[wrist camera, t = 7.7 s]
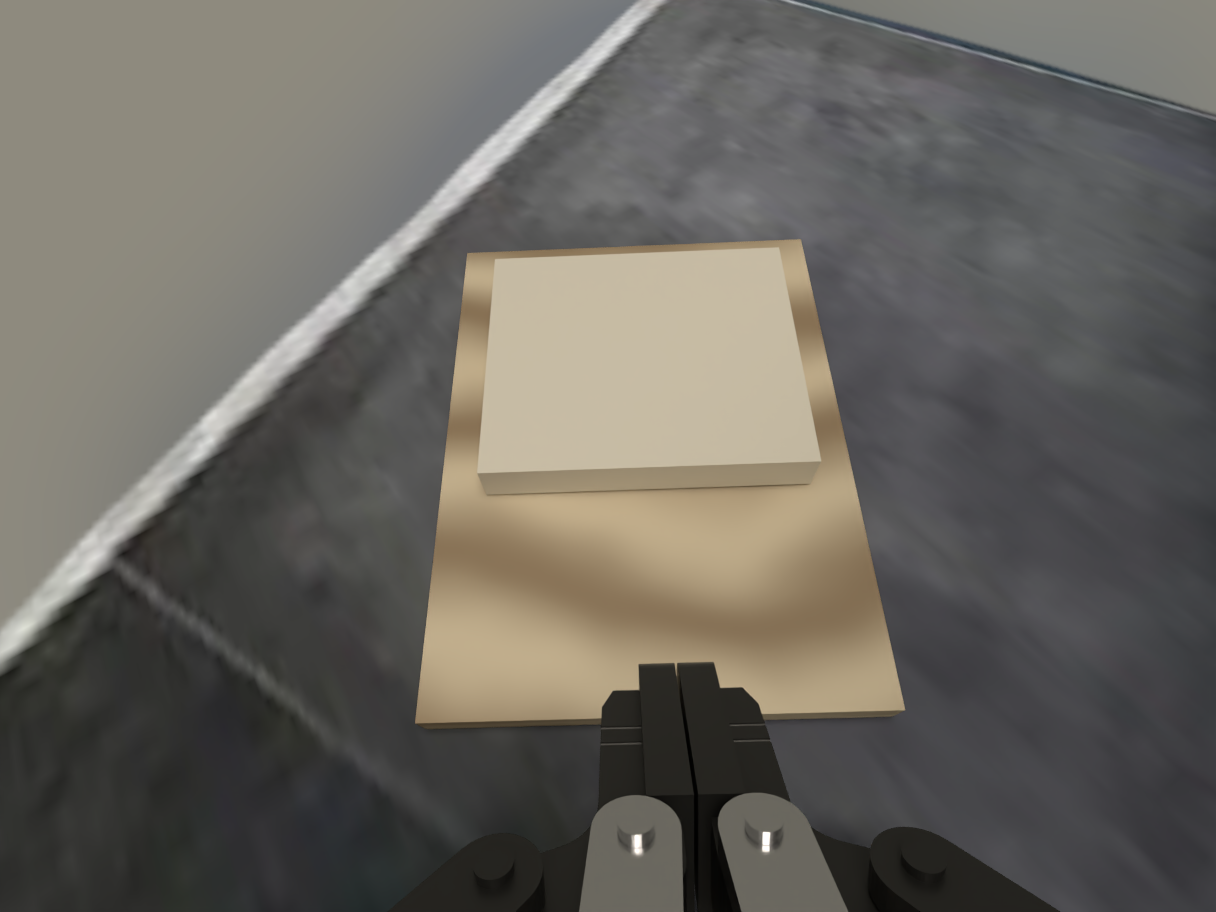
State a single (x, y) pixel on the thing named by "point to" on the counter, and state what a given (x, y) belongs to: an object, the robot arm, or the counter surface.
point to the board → (649, 568)
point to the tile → (644, 374)
